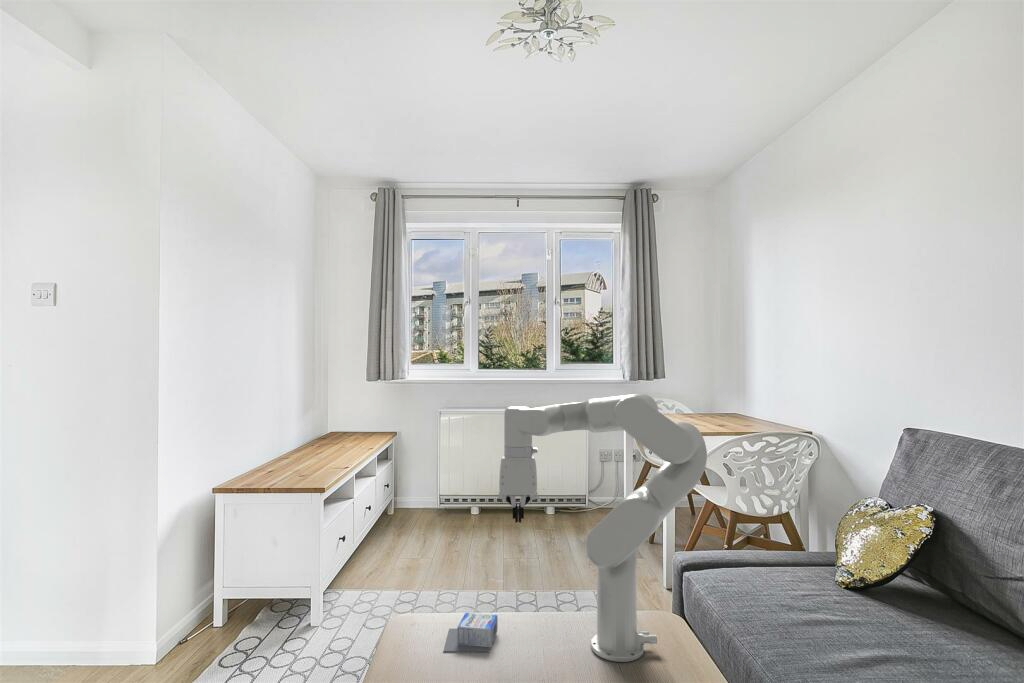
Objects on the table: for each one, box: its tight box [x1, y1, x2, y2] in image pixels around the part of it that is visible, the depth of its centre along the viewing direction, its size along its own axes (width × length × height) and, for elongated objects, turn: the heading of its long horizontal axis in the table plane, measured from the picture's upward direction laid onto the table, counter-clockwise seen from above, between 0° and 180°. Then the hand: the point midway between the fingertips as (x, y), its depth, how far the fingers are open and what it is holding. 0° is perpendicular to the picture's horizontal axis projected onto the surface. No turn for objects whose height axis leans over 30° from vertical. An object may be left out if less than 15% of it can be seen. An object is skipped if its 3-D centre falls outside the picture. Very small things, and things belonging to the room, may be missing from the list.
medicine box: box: [456, 612, 499, 648], centre depth 134 cm, size 8×4×9 cm
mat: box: [442, 628, 491, 653], centre depth 133 cm, size 11×11×1 cm
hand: (518, 521), depth 143 cm, fingers closed
